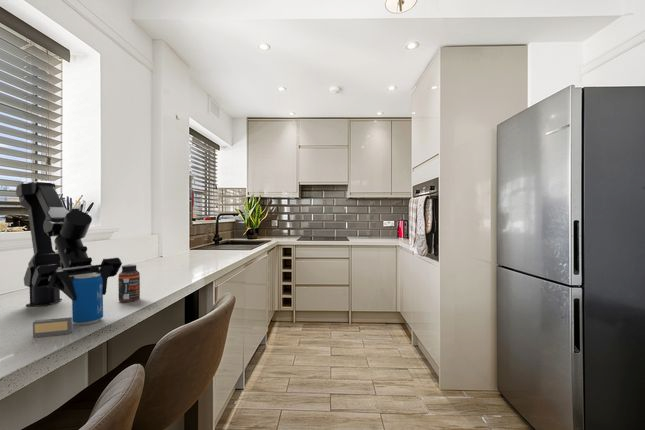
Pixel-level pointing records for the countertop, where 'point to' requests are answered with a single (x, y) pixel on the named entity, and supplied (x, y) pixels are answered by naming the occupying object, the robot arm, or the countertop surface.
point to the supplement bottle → (129, 284)
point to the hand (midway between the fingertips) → (90, 296)
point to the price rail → (52, 327)
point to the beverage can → (87, 299)
